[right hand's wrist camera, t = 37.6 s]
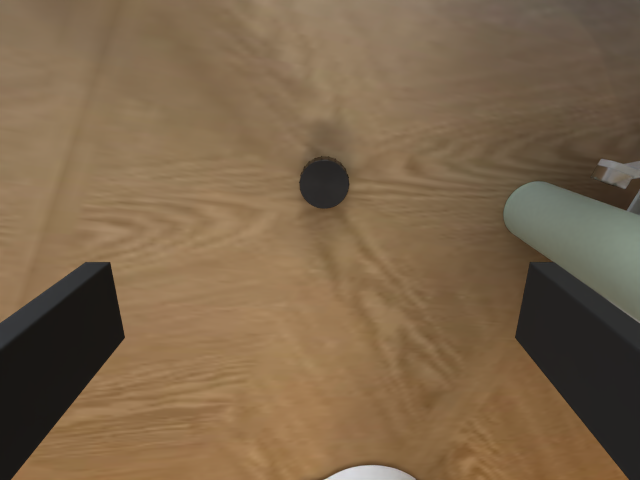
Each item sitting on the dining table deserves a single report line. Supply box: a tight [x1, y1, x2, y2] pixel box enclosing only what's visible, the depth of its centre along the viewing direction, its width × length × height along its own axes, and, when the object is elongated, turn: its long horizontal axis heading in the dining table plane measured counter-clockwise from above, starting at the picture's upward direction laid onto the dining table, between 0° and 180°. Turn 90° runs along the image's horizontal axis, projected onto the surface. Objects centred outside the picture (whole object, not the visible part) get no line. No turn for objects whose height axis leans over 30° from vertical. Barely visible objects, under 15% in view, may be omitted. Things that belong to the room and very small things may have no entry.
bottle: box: [503, 181, 640, 321], centre depth 25 cm, size 5×5×22 cm
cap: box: [299, 156, 349, 209], centre depth 34 cm, size 4×4×2 cm
